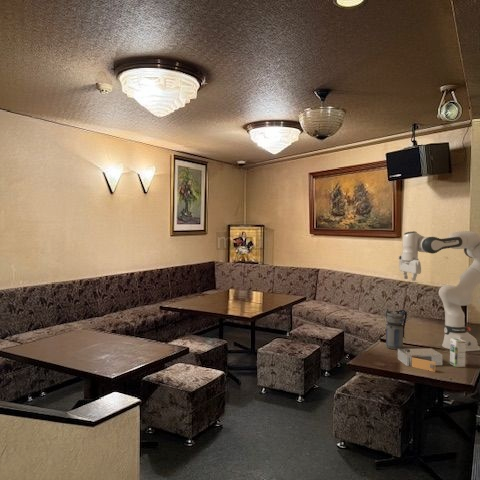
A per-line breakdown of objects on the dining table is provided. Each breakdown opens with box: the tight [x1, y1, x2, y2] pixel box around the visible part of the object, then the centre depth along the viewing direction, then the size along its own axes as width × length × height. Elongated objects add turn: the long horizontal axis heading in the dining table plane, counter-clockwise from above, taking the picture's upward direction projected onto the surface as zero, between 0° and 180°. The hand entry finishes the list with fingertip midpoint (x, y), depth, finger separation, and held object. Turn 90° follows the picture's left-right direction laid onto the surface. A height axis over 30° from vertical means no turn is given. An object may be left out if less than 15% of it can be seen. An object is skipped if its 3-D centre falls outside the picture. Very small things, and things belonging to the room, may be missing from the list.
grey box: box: [397, 347, 443, 367], centre depth 231 cm, size 20×14×7 cm
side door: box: [409, 356, 436, 373], centre depth 219 cm, size 13×2×5 cm, turn 47°
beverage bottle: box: [384, 308, 408, 351], centre depth 258 cm, size 10×13×25 cm
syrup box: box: [449, 338, 466, 368], centre depth 225 cm, size 6×6×14 cm
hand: (409, 279), depth 253 cm, fingers open, 8 cm apart
